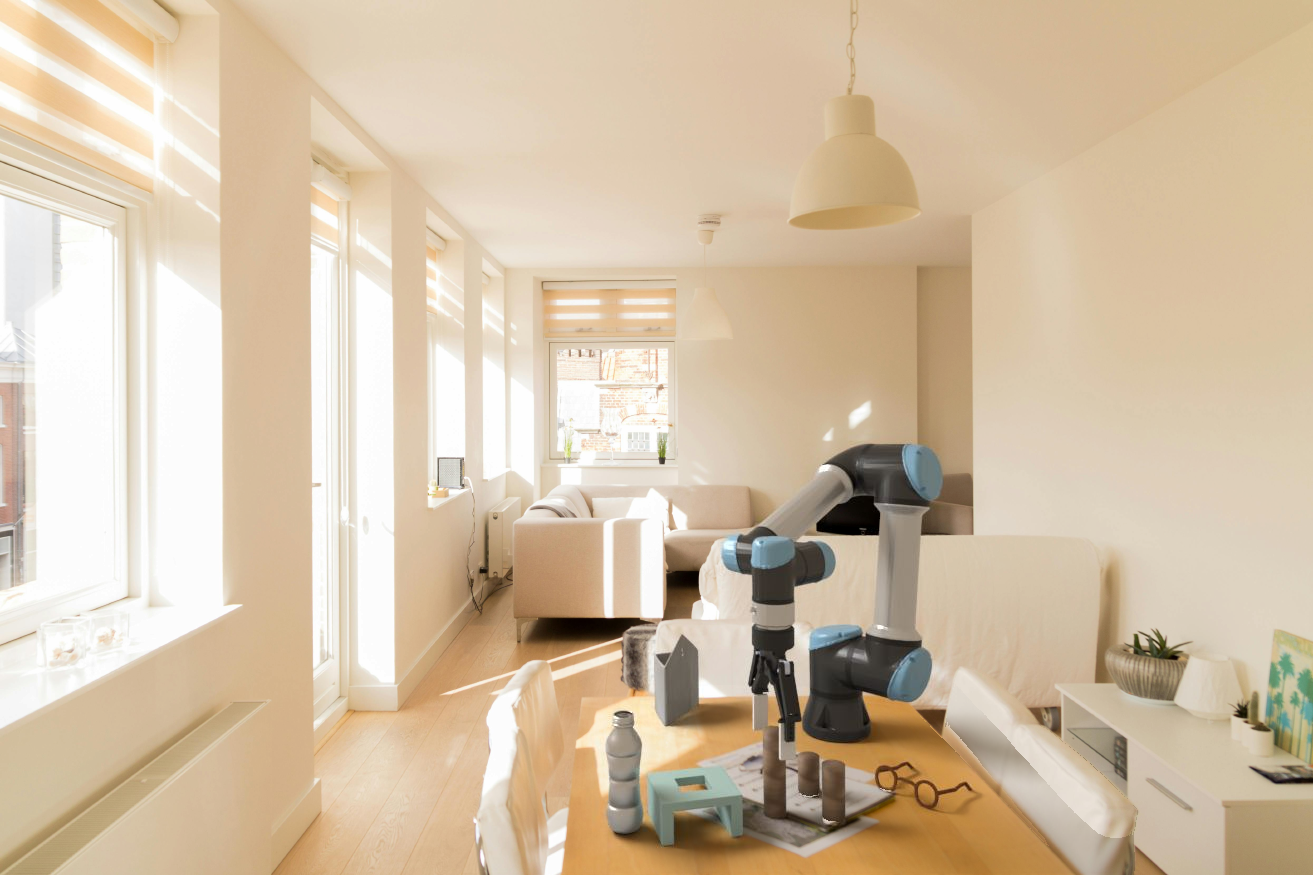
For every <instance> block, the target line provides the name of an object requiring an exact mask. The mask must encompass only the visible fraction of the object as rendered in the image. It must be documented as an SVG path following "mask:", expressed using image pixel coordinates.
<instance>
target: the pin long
mask: <svg viewBox="0 0 1313 875" xmlns="http://www.w3.org/2000/svg"><path fill="white" fill-rule="evenodd" d="M762 765H763V766H762V773H763V774H762V776H763V778H762V779H763V780H762V784H763V785H762V786H763V815H764V816H766V817H767V818H770V819H773V820H774V819H775V820H777V819H779V820H780V819H783V818H785V817H786V816H787V760H780V759H779V725H768V726H767V727H765V728H763V730H762Z"/></svg>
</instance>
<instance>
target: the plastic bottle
mask: <svg viewBox="0 0 1313 875" xmlns="http://www.w3.org/2000/svg"><path fill="white" fill-rule="evenodd" d="M634 716H635V714H634V712H633V711H631V710H617V711H615V712H613V714H612V726H613V728H612V730H611V731H610V733H609V734H608V736H607V738H606V740H605V741H606V742H605V754H606V759H607V761H606V762H607V765H608V779H609V780H608V781H609V783H608V784H609V787H608V801H607V804H606V805H607V806H606V814H605V816H606V822H607V825H608V826H609V829H611V831H612V832H614V833H618V834H623V835H624V834H626V835H627V834H631V833H635V832H637V831H639V829H640V827H641V826H642V825H643V822H644V816H645V813H644V807H643V801H642V796H641V795H642V794H641V786H640V785H641V784H640V777H641V776H640V774H641V773H640V769H641V768H640V766H641V758H642V753H643V752H642V750H643V742H642V739H641V736H640V735H639V733H638V732H637V730H636V729H635V728H634V726H635V717H634Z"/></svg>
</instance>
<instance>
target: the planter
mask: <svg viewBox="0 0 1313 875" xmlns="http://www.w3.org/2000/svg"><path fill="white" fill-rule="evenodd" d="M653 666H654V668H653V671H654V675H653V676H654V677H653V678H654V711H655V713H656V716H657V717H658V719H659V720H660V721H661V723H662V724H663V726H664V727H668V726H669V725H670V724H673V723H674V722H675V721H676V720H678V719H680V718H681V717H683V716H684V715H685V714H687V713H689V712H690V711H691V710H693V709H694V708H696V707H698V705H699V704H700V697H699V695H700V691H699V690H700V687H699V685H700V684H699V682H700V681H699V680H700V679H699V673H700V672H699V670H700V669H699V649H698V648H697V647H696V645H694V643H692V641H690V640H689V638H687V637H686V636H685V634H683V633H681V634H680V635H679V636H678V639H677V641H676V643H675V644H674V648H673V649H672V650H671V651H669V652H662V653H661V652H660V653H655V654H654V655H653Z"/></svg>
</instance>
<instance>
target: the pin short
mask: <svg viewBox="0 0 1313 875" xmlns="http://www.w3.org/2000/svg"><path fill="white" fill-rule="evenodd" d="M820 759H821V758H820V754H818V753H817V752H814V751H809V750H808V751H801V752H799V753H798V754H797V792H798V791H799V793H801V794H802V795H806V796H813V795H818V794H819V793H820V792H821V791H820V789H821V787H820V786H821V783H820V782H821V780H820V779H821V776H820V772H821V771H820V770H821V769H820V766H821V765H820ZM799 793H798V794H799ZM819 795H820V794H819Z"/></svg>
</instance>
